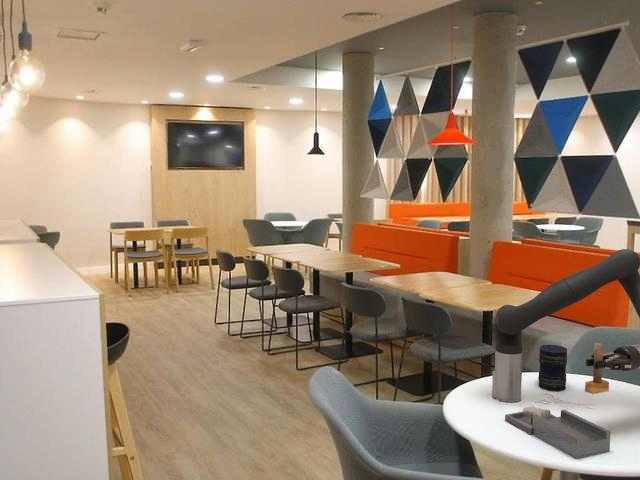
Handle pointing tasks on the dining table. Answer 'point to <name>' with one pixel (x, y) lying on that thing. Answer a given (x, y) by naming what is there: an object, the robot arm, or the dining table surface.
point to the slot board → (572, 434)
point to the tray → (520, 421)
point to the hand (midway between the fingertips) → (590, 364)
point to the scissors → (560, 401)
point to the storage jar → (552, 368)
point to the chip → (542, 413)
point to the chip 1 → (528, 414)
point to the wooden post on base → (597, 374)
